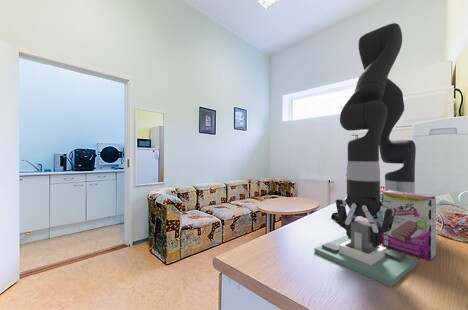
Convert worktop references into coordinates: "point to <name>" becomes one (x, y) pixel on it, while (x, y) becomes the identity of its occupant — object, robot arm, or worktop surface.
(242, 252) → the worktop surface
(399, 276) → the board
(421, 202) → the candy bar box
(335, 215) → the electric trimmer
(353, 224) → the plug
